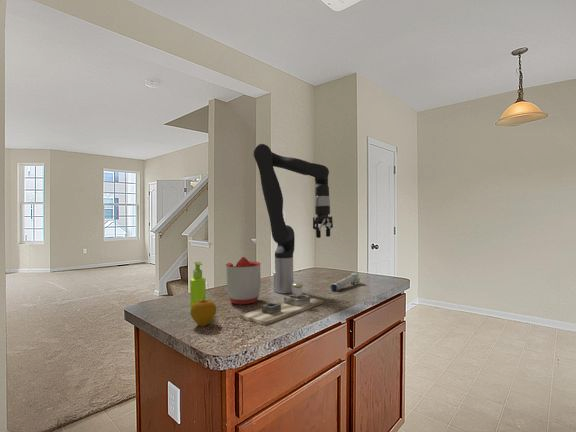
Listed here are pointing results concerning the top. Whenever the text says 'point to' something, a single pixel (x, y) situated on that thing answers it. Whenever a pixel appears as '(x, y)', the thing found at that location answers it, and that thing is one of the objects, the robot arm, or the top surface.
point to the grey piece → (345, 282)
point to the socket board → (280, 309)
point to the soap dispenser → (197, 285)
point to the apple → (203, 312)
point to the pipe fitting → (297, 290)
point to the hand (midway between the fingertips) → (323, 237)
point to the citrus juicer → (243, 281)
